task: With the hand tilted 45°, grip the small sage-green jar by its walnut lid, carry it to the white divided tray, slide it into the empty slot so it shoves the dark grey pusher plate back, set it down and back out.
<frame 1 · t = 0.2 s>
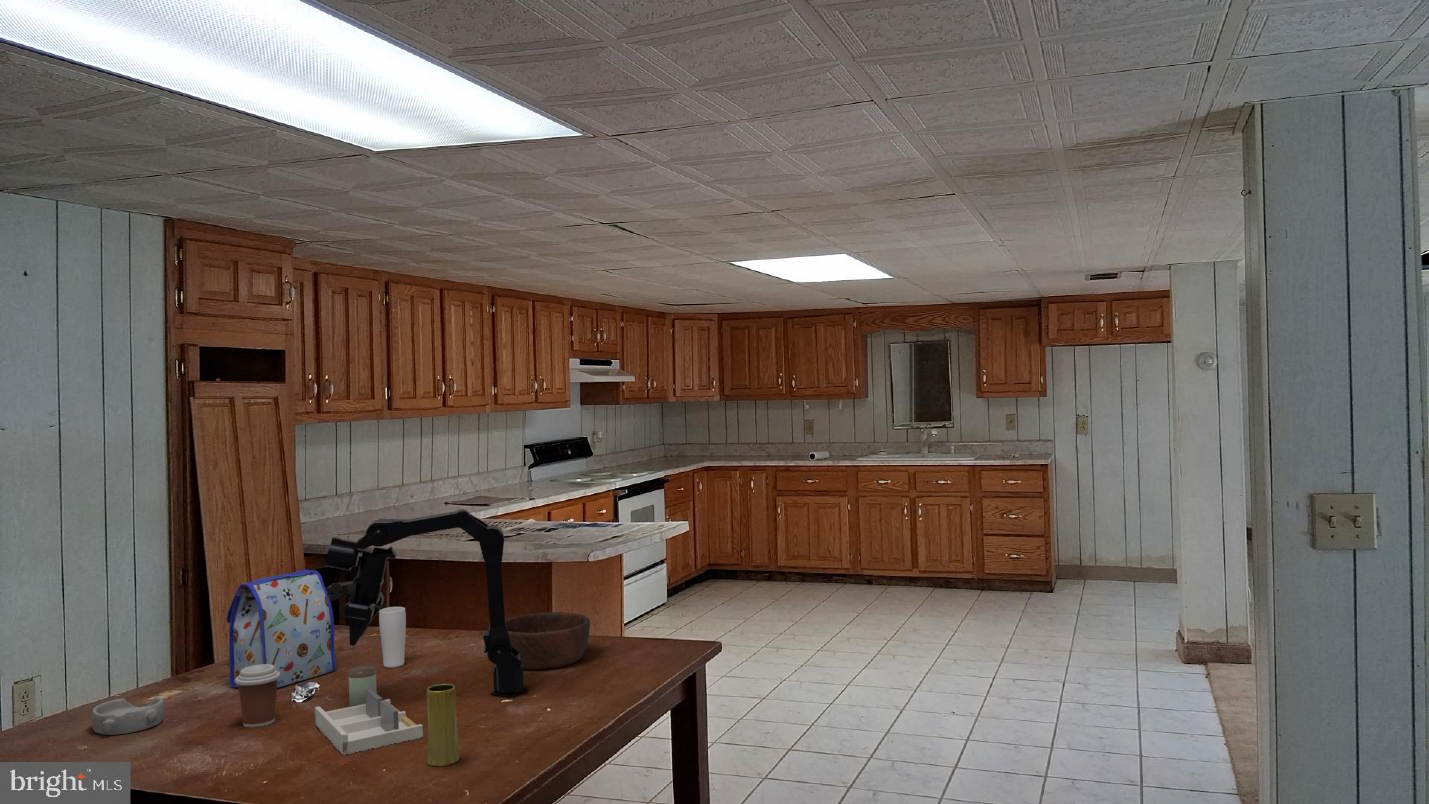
hand: (355, 640, 223), 15 cm above the table, tool pointing down, fingers open, 9 cm apart
sage jar: (363, 703, 226), on the table
white divided tray: (360, 724, 211), on the table
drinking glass: (394, 666, 258), on the table
dish: (128, 728, 215), on the table
pusher plate: (374, 706, 213), point 3 cm above the table, slide at 0.0 cm
coffee cup: (259, 723, 215), on the table
vase: (443, 762, 188), on the table
wooden bowl: (544, 661, 260), on the table
lunch bag: (283, 680, 249), on the table
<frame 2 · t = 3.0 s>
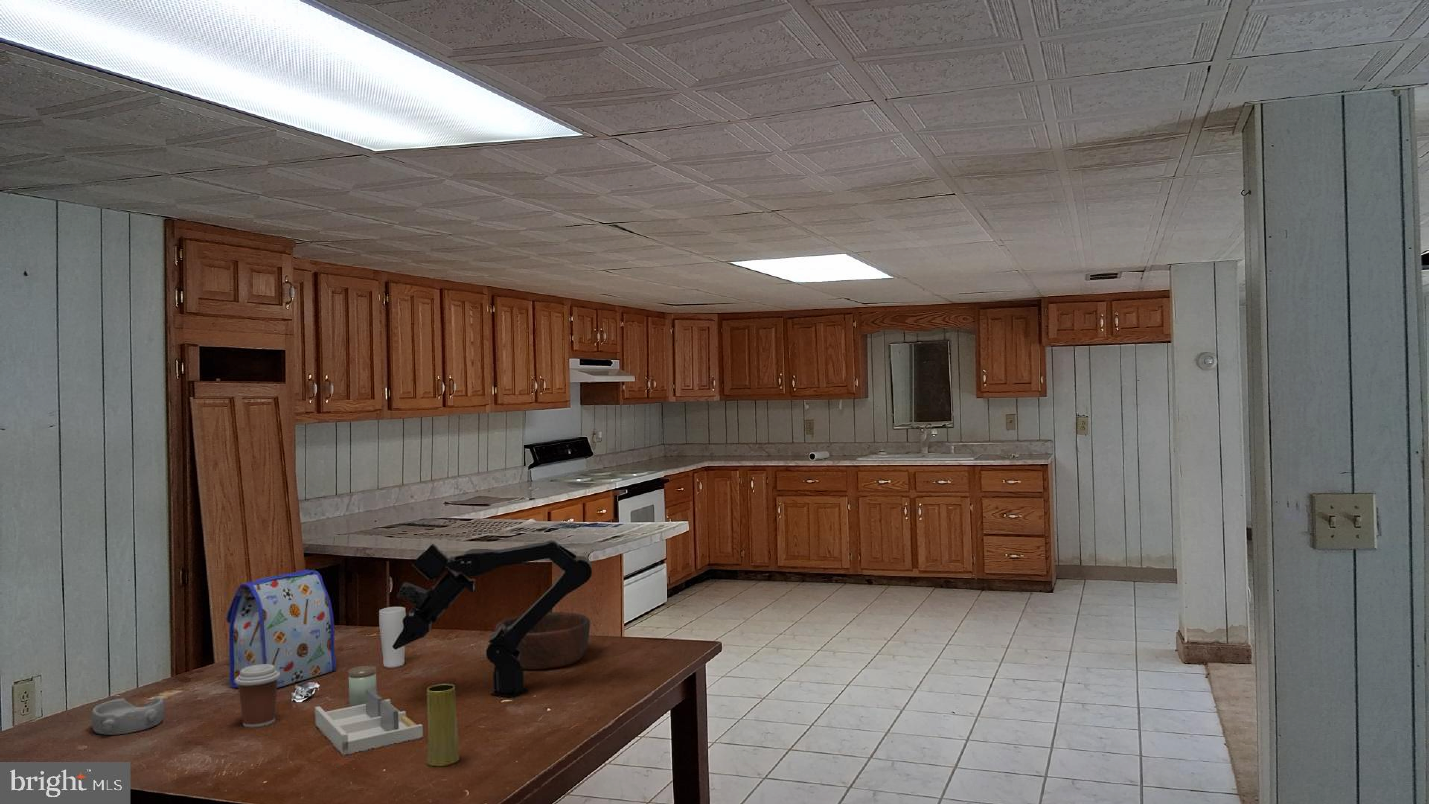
hand: (397, 643, 227), 13 cm above the table, tool tilted 45°, fingers open, 9 cm apart
nothing on the table moved.
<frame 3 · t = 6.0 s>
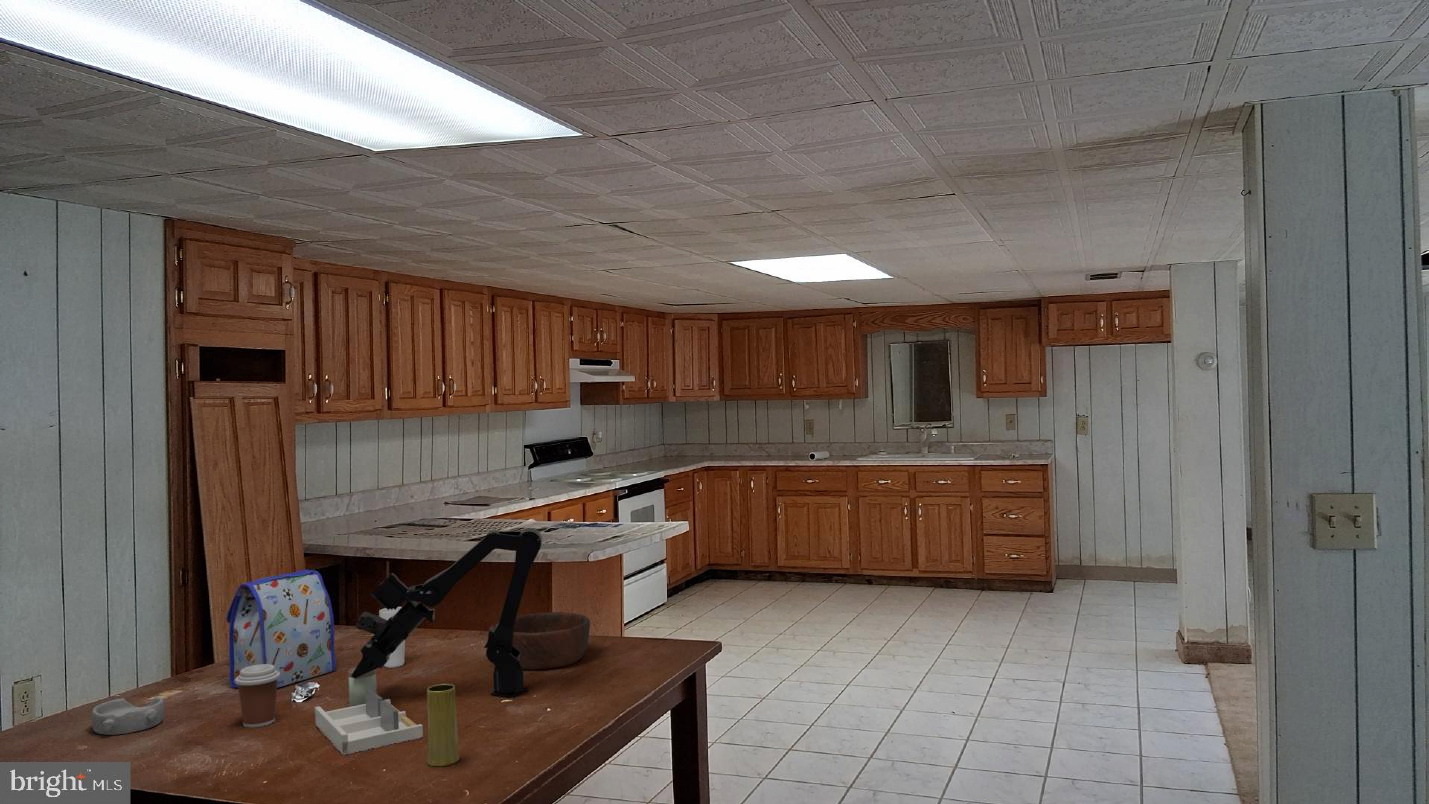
hand: (355, 673, 226), 7 cm above the table, tool tilted 45°, fingers closed on sage jar, 6 cm apart
sage jar: (363, 703, 226), on the table, touching gripper
everything else where it was.
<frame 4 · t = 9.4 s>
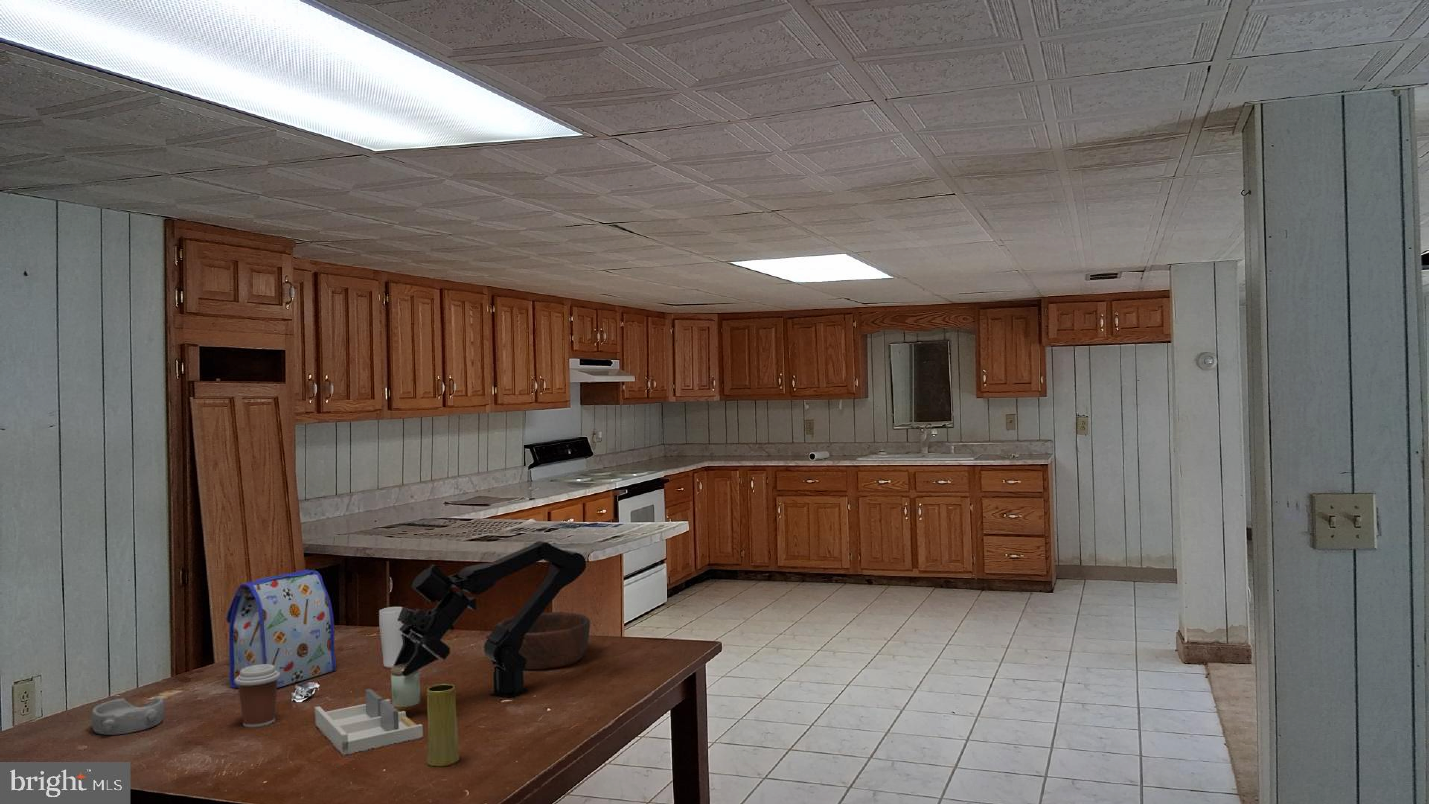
hand: (398, 672, 216), 10 cm above the table, tool tilted 45°, fingers closed on sage jar, 6 cm apart
sage jar: (406, 702, 217), point 3 cm above the table, touching gripper
everything else where it was.
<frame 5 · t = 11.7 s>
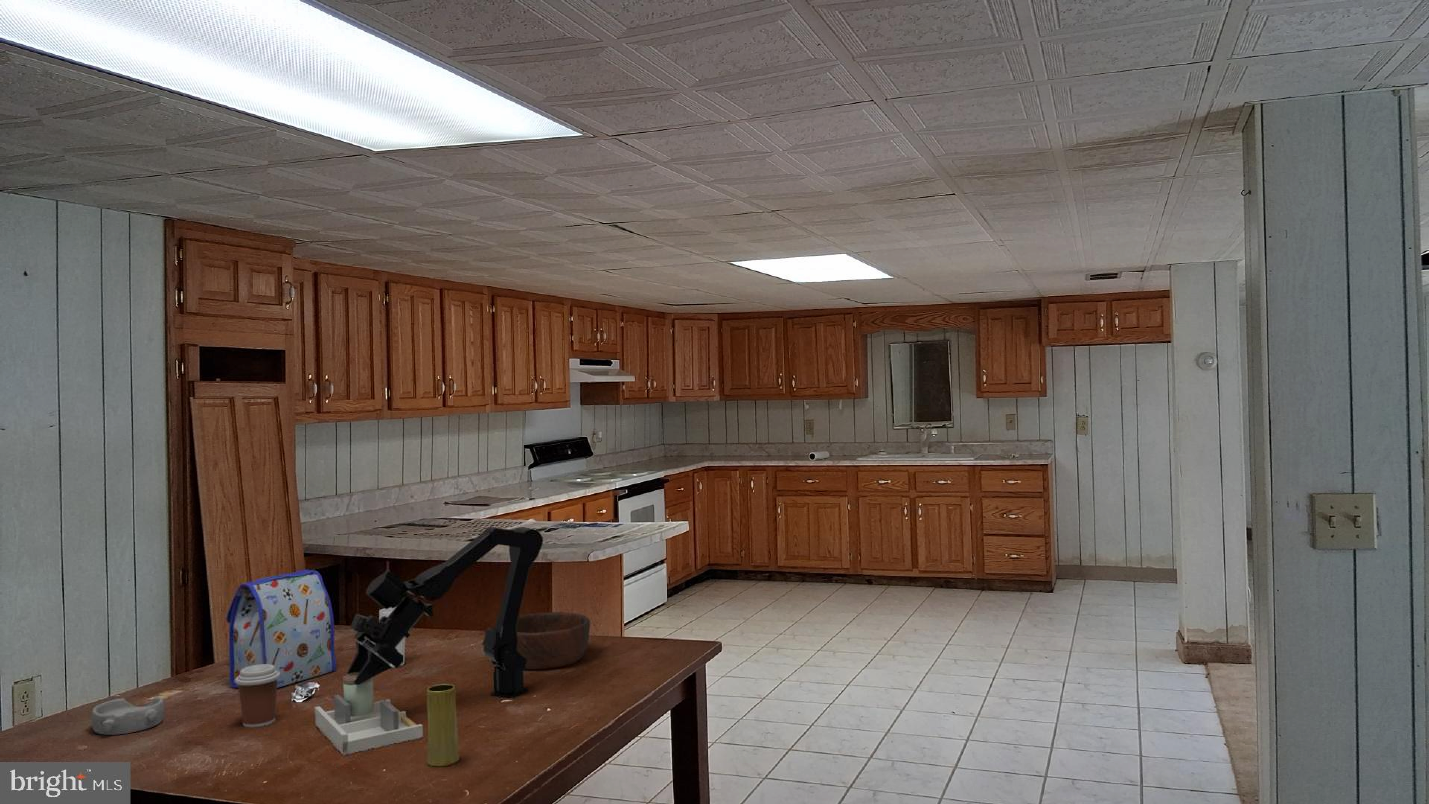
hand: (351, 680, 210), 10 cm above the table, tool tilted 45°, fingers closed on sage jar, 6 cm apart
sage jar: (359, 712, 211), point 3 cm above the table, touching gripper
pusher plate: (342, 712, 209), point 3 cm above the table, slide at 6.7 cm
everything else where it was.
when the fingers open (8 cm above the table, at t = 13.0 s): sage jar stays where it is, resting on white divided tray, pusher plate.
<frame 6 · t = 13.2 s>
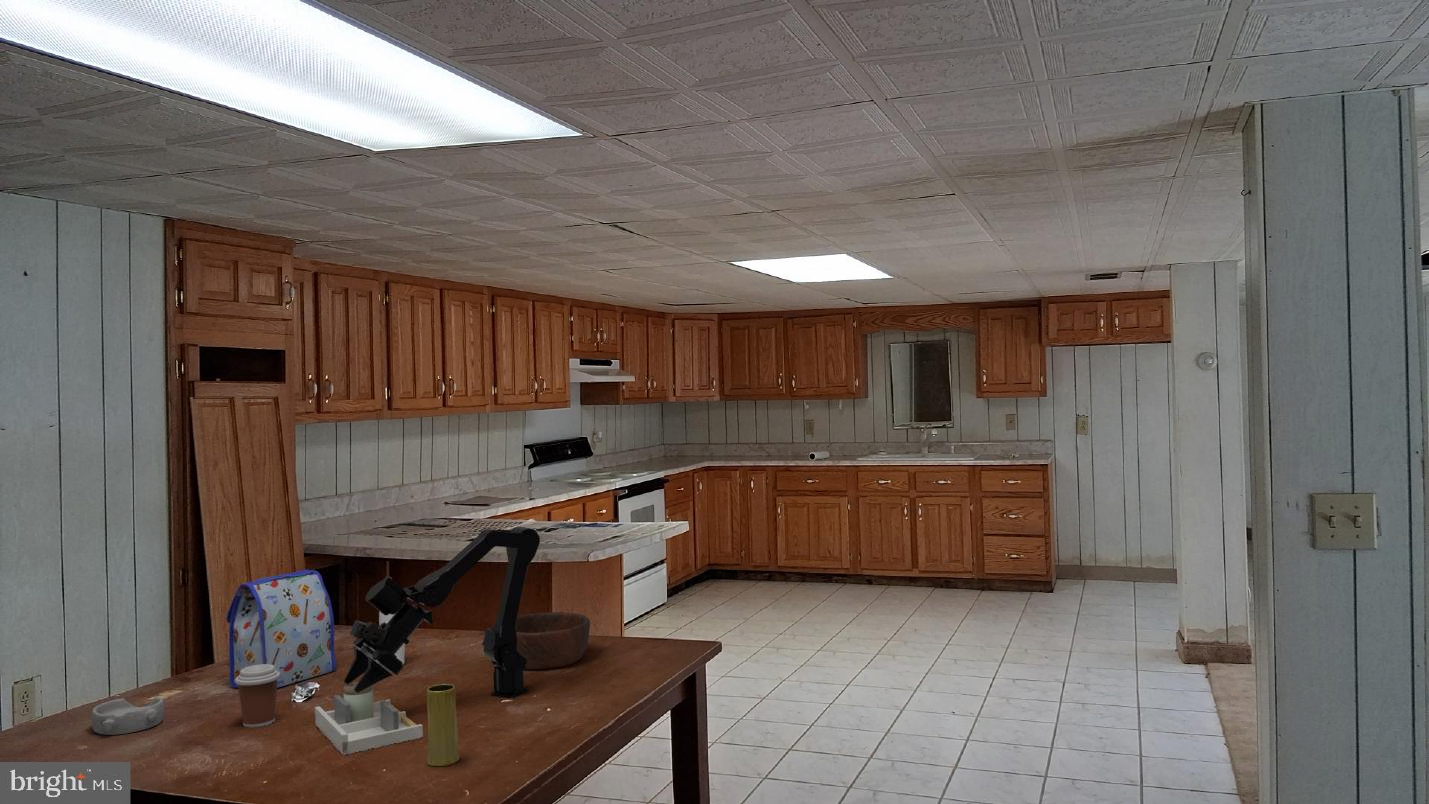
hand: (350, 687, 210), 9 cm above the table, tool tilted 45°, fingers open, 8 cm apart
sage jar: (359, 722, 211), point 1 cm above the table, touching white divided tray, pusher plate
pusher plate: (342, 712, 209), point 3 cm above the table, slide at 6.8 cm, touching sage jar
everything else where it was.
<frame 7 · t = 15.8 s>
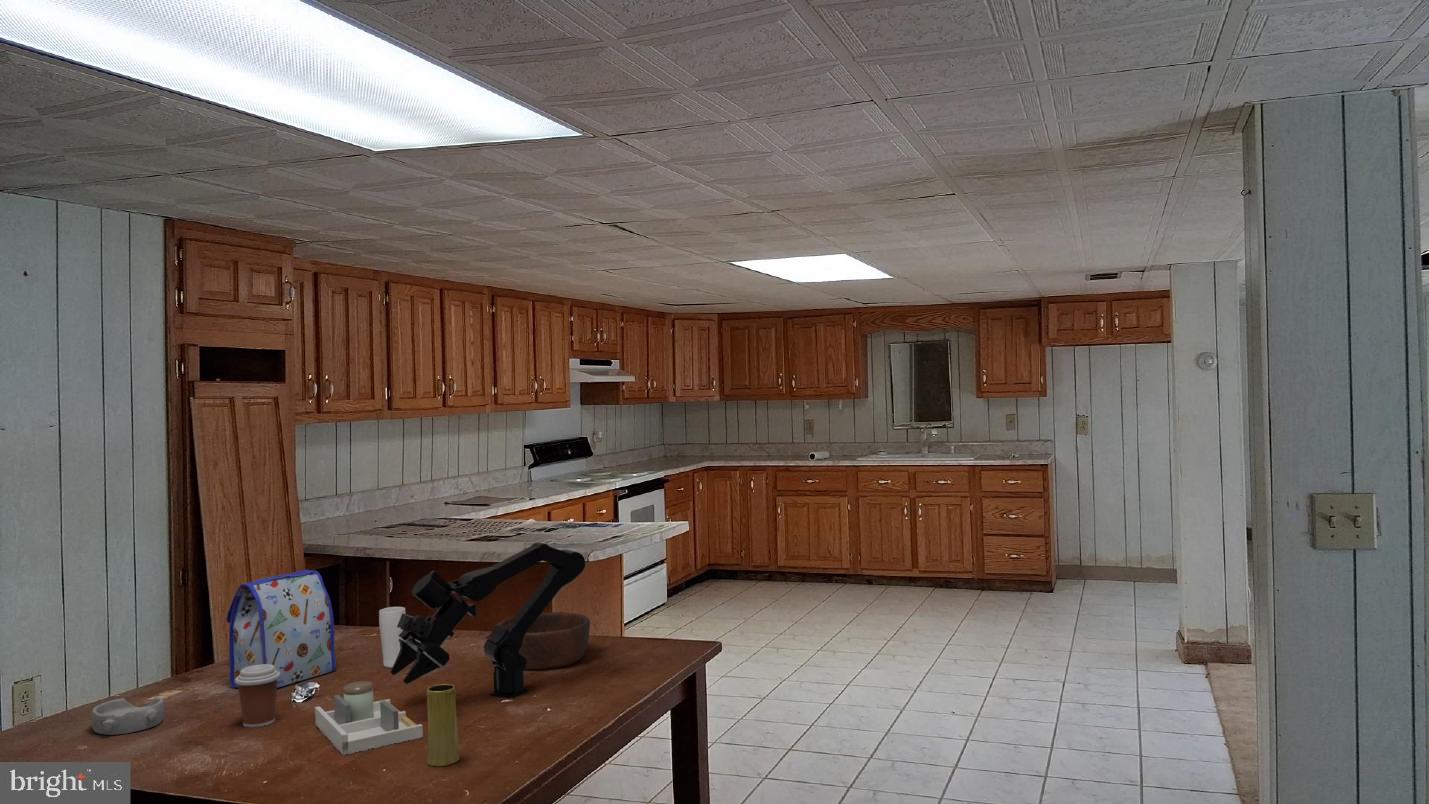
hand: (398, 678, 216), 8 cm above the table, tool tilted 45°, fingers open, 9 cm apart
nothing on the table moved.
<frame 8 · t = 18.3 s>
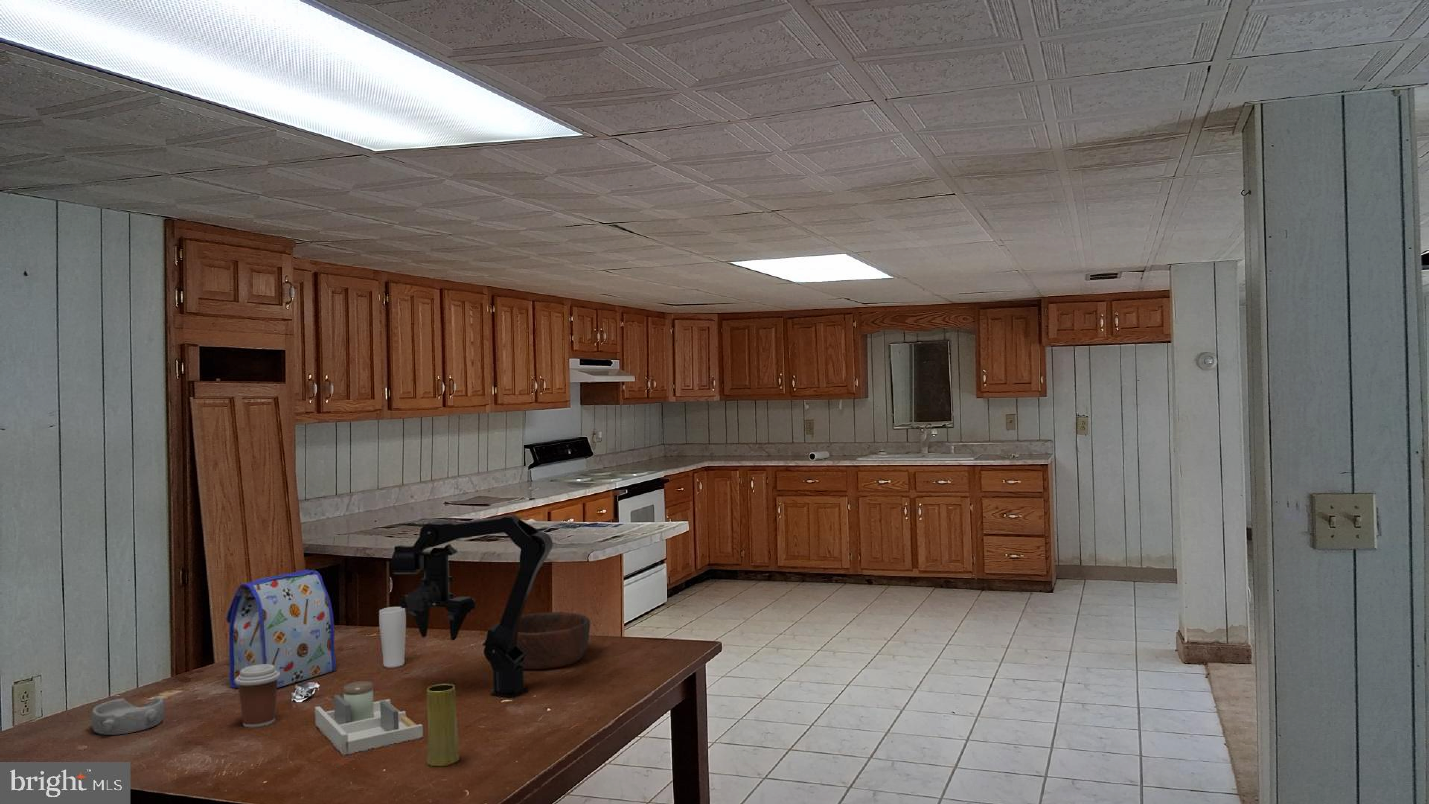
hand: (438, 638, 233), 13 cm above the table, tool pointing down, fingers open, 9 cm apart
sage jar: (359, 722, 211), point 1 cm above the table, touching white divided tray
pusher plate: (342, 712, 209), point 3 cm above the table, slide at 6.8 cm
everything else where it was.
at the end: sage jar 1.3 cm off-centre on the white divided tray, point 0.6 cm above the white divided tray's base; sage jar tilted 0°; pusher plate slide at 6.8 cm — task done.
